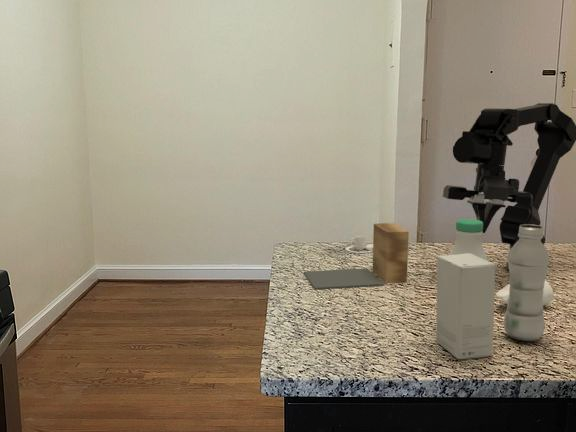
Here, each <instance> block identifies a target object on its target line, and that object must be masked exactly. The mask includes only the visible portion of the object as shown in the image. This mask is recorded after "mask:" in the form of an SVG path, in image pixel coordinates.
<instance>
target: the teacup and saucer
mask: <svg viewBox="0 0 576 432" xmlns="http://www.w3.org/2000/svg"><path fill="white" fill-rule="evenodd" d="M352 240H353V243H354V245H353V243H352ZM349 243H350V244H351V245H350V246H346V247H345V250H346V251H348V252H349V253H354V254H355V253H356V254H366V253H373V243H369V244H367V245H366V236H365V235H354V237H351V238H350V239H349ZM351 248H354V249H355V250H356V251H354V250H350V249H351ZM364 249H365V250H366V251H364Z"/></svg>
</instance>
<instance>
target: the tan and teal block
mask: <svg viewBox="0 0 576 432" xmlns="http://www.w3.org/2000/svg"><path fill="white" fill-rule="evenodd" d="M409 232H410V231H408V230H407V229H405V228H403V227H401V226H399V225H397V224H396V223H394V222H386V223H385V222H384V223H373V235H372V237H373V241H372V244H373V251H372V273H373V274H374V275H375V276H376V277H377V278H378V279H379V280H380V279H381V280H380V281H382V282H383V283H384V284H402V283H405V284H406V283H408V261H409V260H408V259H409V258H408V257H409V256H408V255H409V235H410V234H409Z"/></svg>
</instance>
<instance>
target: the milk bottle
mask: <svg viewBox="0 0 576 432" xmlns="http://www.w3.org/2000/svg"><path fill="white" fill-rule="evenodd" d="M455 228H456V229H455V233H456V238H455V241H454V244H453V247H452V249H451V250H450V251H449V253H448V255H456V254H466V253H471V254H473V255H475V256H477V257H480V258H482V259H484V260H487V261H489V260H488V256H487V254H486V252H485V248H484V246H483V242H482V235H483V234H484V233H483V232H482V230H483V222H482V221H479V220H477V219H474V218H463V219H458V220H456V223H455Z"/></svg>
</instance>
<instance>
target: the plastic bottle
mask: <svg viewBox="0 0 576 432" xmlns="http://www.w3.org/2000/svg"><path fill="white" fill-rule="evenodd" d="M543 232H544V227H543V226H541V225H540V226H539V225H530V224H525V225H520V227H519V233H518V237H520V238H519V240H518V241H517V242H516V243H515V244H514V246H513V247H512V248H511V249H510V248H509V251H508V253H507V260H508V261H507V263H508V264H509V271H508V273H509V275H508V276H509V284H510V292H509V299H508V304H507V307H506V310H505V314H504V317H503V327H504V329H503V330H504V331H505V333H506V334H507V335H508V336H509V337H510V338H512V339H516V340H519V341H526V342H532V341H534V342H535V341H538V340H540V338H541V337H542V336H544V332H545V328H546V322H545V315H544V306H543V291H544V290H543V288H544V283H545V281H546V277H547V273H548V269H549V268H548V267H549V264H550V255H549V252H548V250H547V249H546V246H545V244H544V245H543V244H542V242H541V239H542V238H543V236H544V234H543ZM542 234H543V235H542Z"/></svg>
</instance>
